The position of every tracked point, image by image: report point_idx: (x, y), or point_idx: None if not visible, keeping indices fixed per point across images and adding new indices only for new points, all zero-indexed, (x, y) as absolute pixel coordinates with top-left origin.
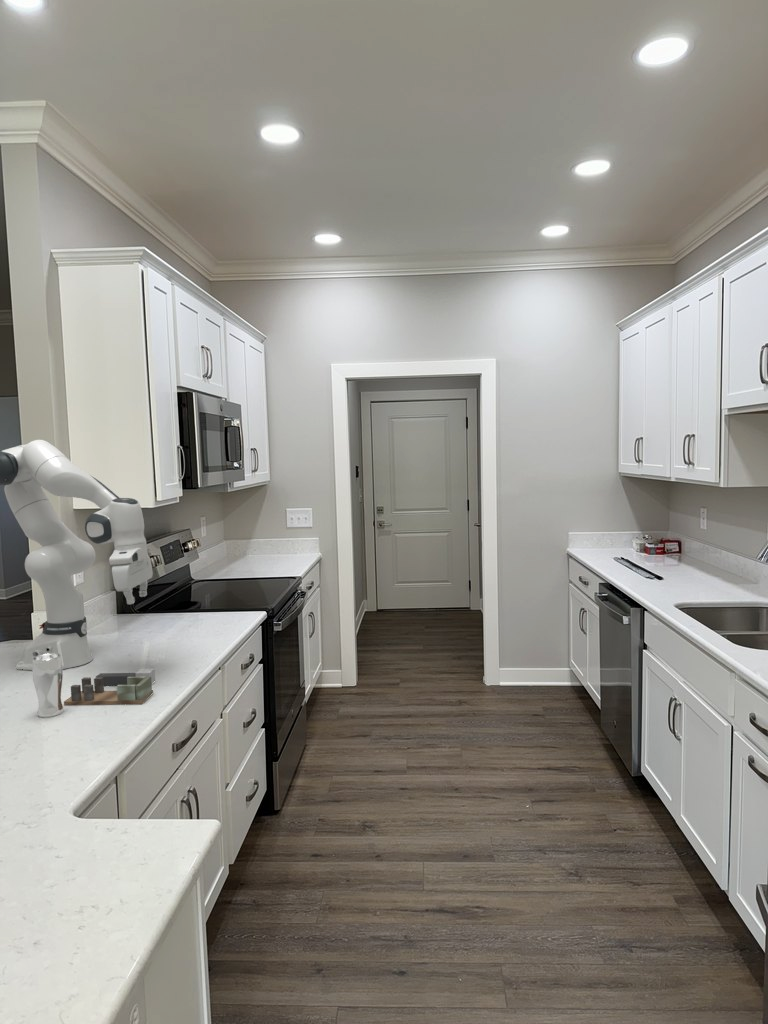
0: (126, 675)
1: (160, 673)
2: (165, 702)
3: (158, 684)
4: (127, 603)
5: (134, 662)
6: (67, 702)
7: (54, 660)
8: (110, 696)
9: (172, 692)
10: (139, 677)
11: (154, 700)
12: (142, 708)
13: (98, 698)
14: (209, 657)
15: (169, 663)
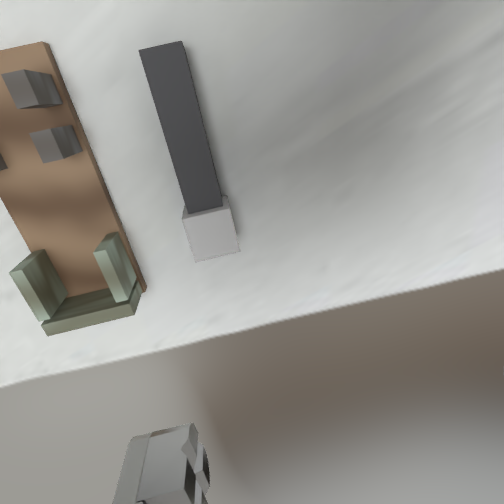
0: (184, 175)
1: (308, 205)
2: (103, 347)
3: (216, 257)
4: (130, 444)
5: (425, 24)
6: None
7: None
8: (51, 207)
9: (170, 324)
10: (111, 288)
11: None
12: None
13: (19, 179)
14: (453, 261)
15: (405, 174)
